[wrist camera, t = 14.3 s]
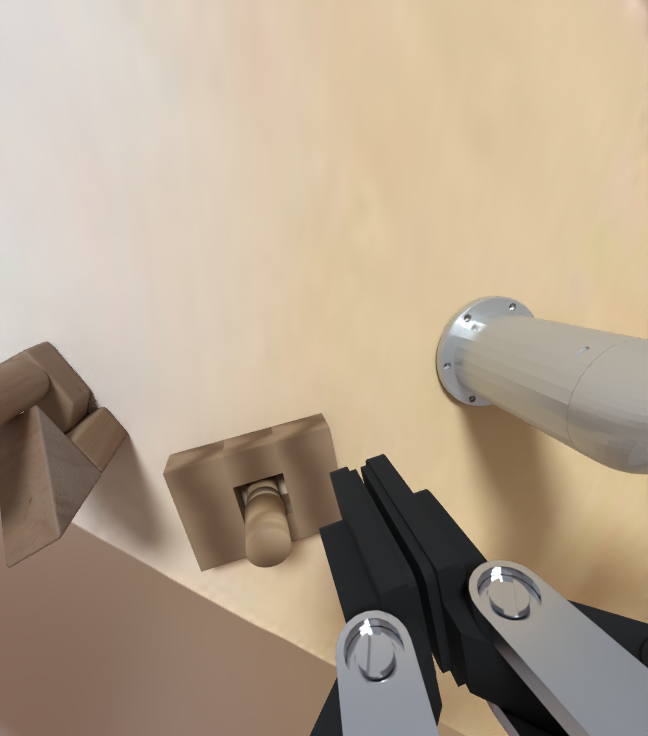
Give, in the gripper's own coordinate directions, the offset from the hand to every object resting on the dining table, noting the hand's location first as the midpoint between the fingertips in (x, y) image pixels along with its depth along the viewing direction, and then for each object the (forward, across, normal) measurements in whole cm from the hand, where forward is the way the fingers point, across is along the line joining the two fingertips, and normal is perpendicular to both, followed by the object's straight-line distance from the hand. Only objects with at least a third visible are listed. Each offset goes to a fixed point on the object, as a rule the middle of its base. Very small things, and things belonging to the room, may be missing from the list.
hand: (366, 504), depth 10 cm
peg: (+27, +6, +15) cm, 31 cm away
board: (+27, +6, +15) cm, 31 cm away
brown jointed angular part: (+27, +20, +1) cm, 33 cm away
